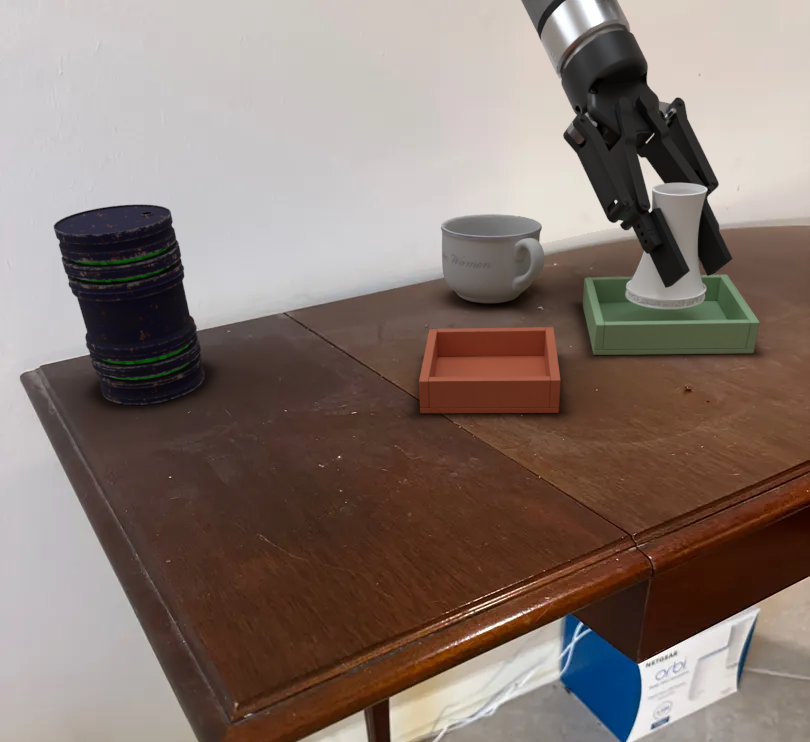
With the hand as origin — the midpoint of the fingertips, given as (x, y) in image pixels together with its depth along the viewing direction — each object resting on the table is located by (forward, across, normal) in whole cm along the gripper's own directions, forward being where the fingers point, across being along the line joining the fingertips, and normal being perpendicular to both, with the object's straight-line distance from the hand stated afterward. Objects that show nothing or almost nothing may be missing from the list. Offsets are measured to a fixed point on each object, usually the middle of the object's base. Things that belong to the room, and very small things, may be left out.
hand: (698, 272), depth 75 cm
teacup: (-10, +8, -19) cm, 23 cm away
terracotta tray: (+2, +21, -7) cm, 23 cm away
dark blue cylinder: (-11, +47, -21) cm, 52 cm away
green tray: (+2, 0, -7) cm, 7 cm away
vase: (0, 0, -5) cm, 5 cm away
